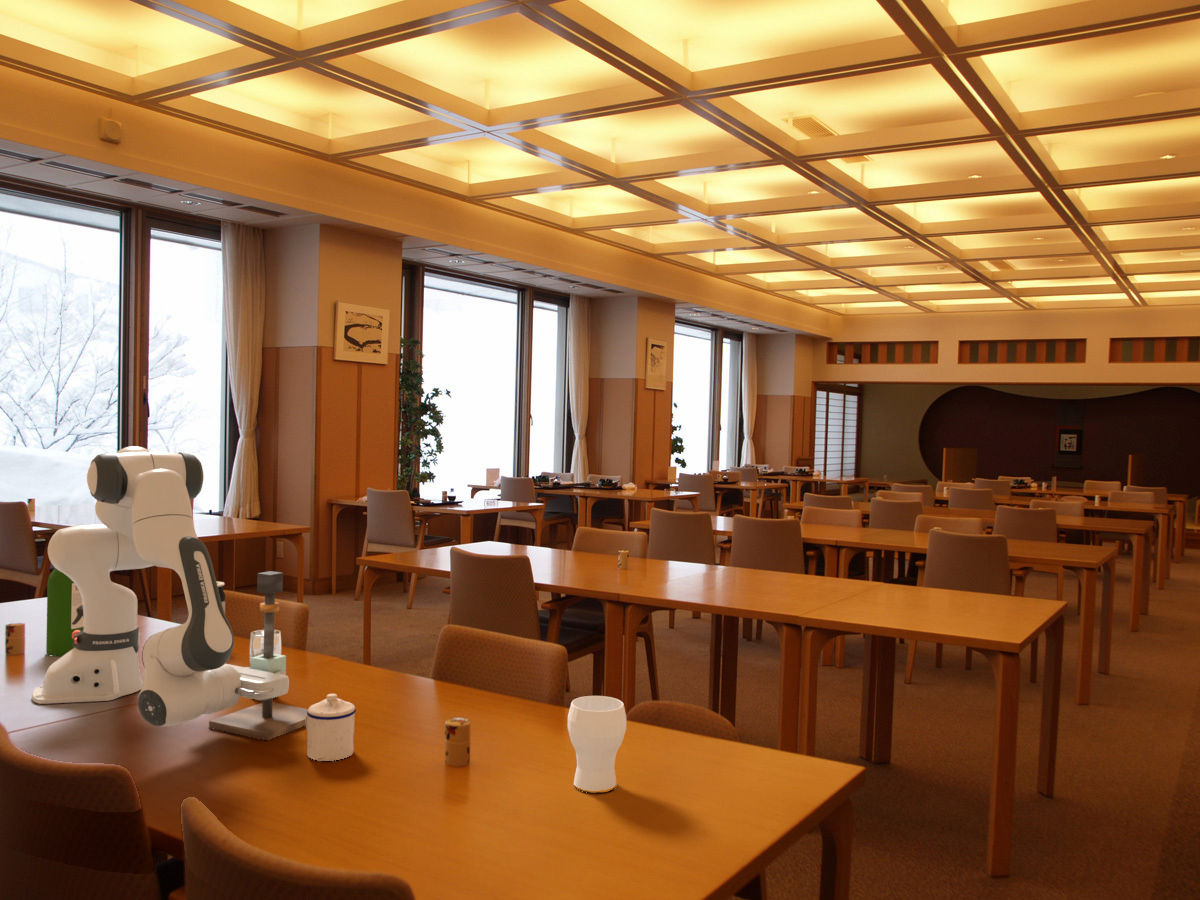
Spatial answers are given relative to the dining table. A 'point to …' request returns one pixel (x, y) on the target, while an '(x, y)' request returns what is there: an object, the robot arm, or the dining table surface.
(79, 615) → the wine bottle
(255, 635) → the beer glass
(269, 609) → the post stand
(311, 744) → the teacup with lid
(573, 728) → the cup
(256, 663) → the marker sleeve
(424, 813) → the dining table surface
